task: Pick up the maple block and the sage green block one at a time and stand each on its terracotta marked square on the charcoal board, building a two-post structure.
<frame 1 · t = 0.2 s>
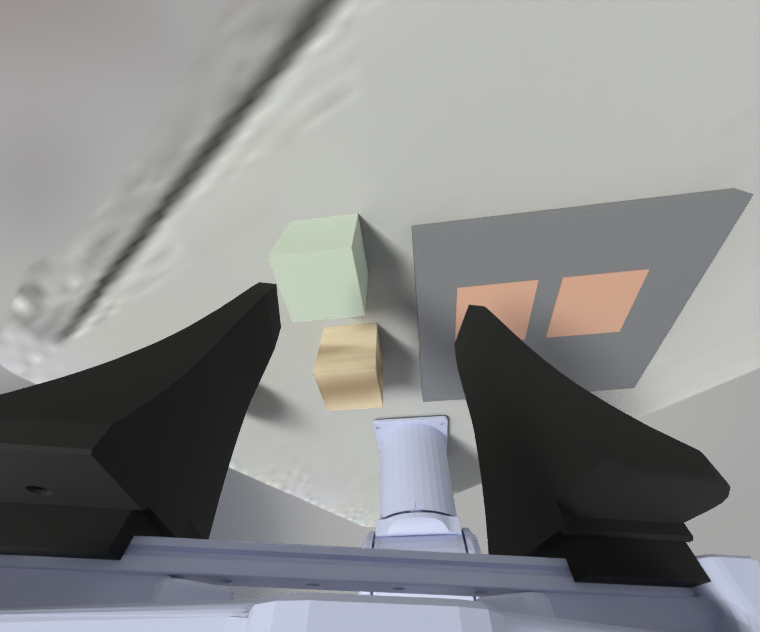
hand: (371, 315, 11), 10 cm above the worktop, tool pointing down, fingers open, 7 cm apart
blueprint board: (538, 315, 24), on the worktop
maple block: (355, 344, 26), on the worktop
sage block: (331, 248, 20), on the worktop
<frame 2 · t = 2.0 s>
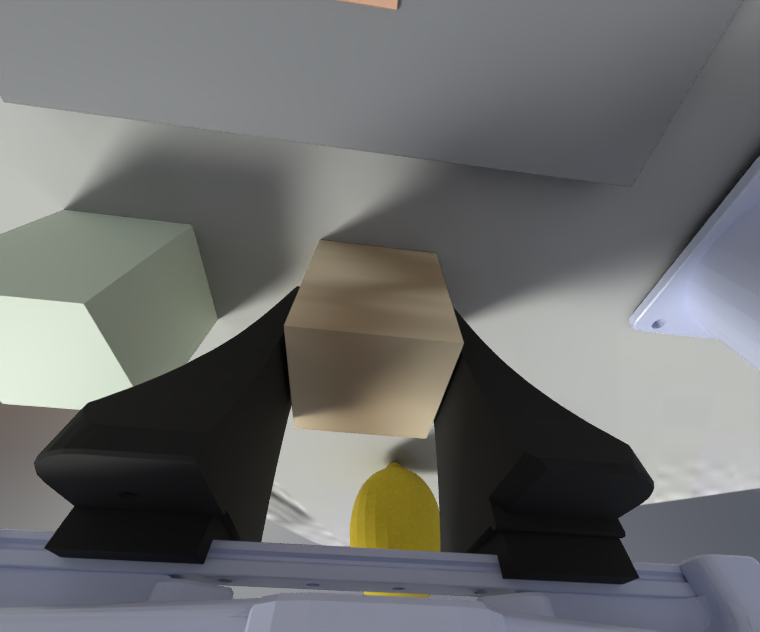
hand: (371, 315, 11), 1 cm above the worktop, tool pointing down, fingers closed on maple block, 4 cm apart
maple block: (372, 295, 13), on the worktop, touching gripper
lemon: (394, 460, 21), on the worktop
sage block: (151, 270, 12), on the worktop
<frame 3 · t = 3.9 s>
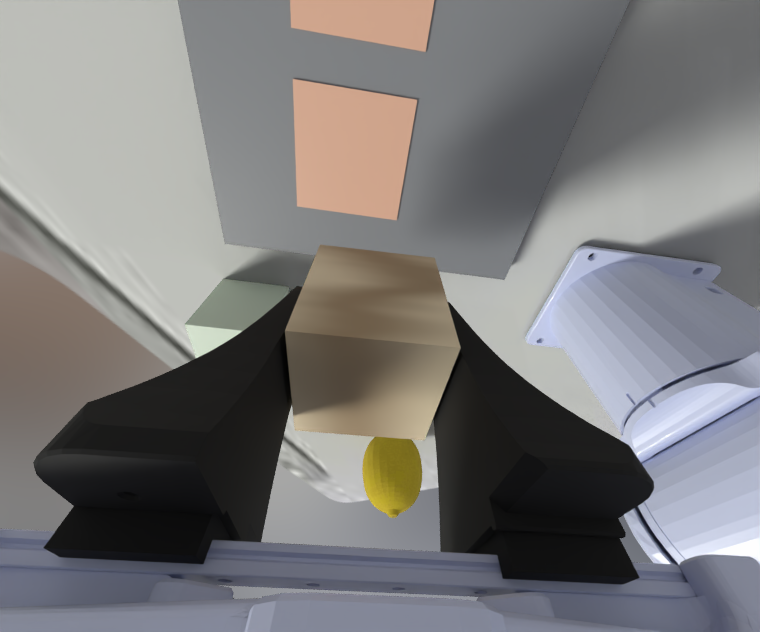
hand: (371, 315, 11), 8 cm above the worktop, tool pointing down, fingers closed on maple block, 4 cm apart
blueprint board: (394, 58, 13), on the worktop
maple block: (372, 298, 13), point 7 cm above the worktop, touching gripper
lemon: (391, 427, 31), on the worktop
sage block: (259, 307, 22), on the worktop
when the fingers open (4 cm above the worktop, at t = 5.8 s): maple block drops 2 cm, resting on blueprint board.
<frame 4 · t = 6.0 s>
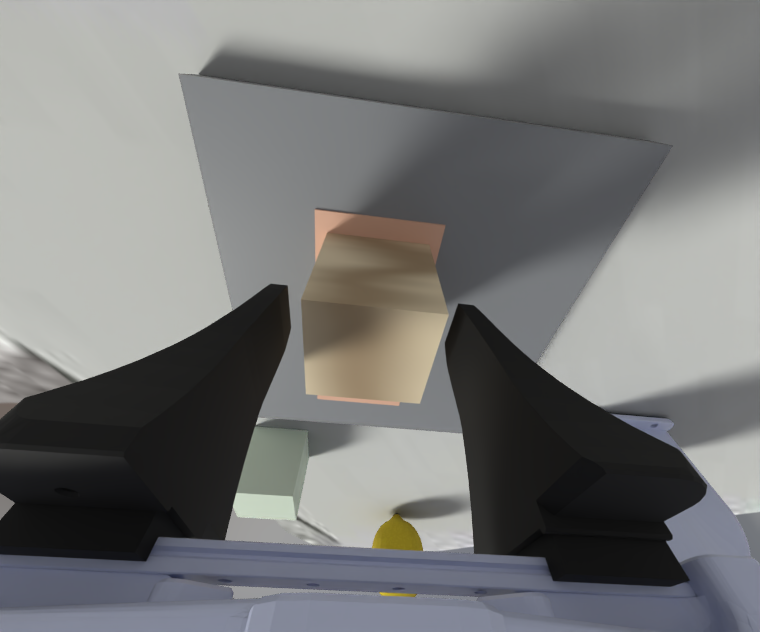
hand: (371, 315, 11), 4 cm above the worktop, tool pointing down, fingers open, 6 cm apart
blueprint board: (395, 312, 17), on the worktop
maple block: (373, 282, 14), point 1 cm above the worktop, touching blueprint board
lemon: (396, 512, 35), on the worktop
sage block: (282, 442, 26), on the worktop
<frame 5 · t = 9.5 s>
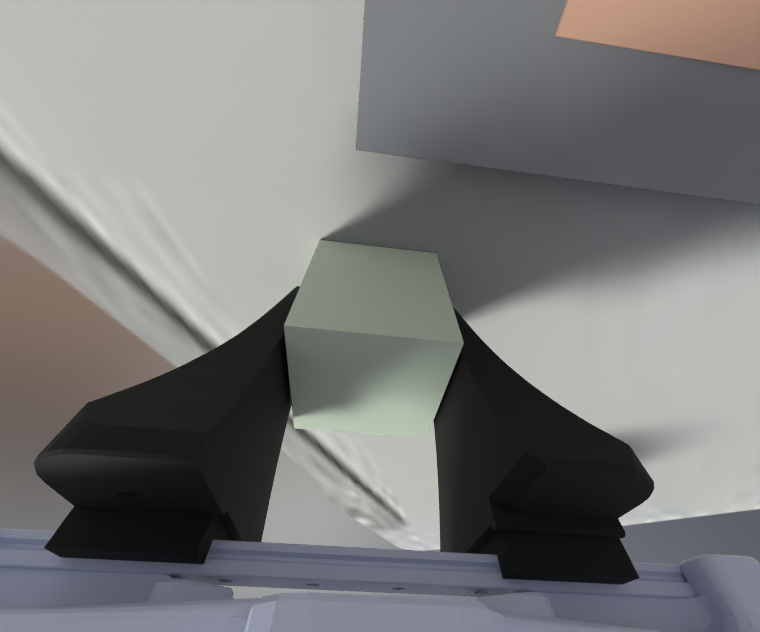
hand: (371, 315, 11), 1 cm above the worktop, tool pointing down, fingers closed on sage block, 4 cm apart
sage block: (372, 295, 13), on the worktop, touching gripper
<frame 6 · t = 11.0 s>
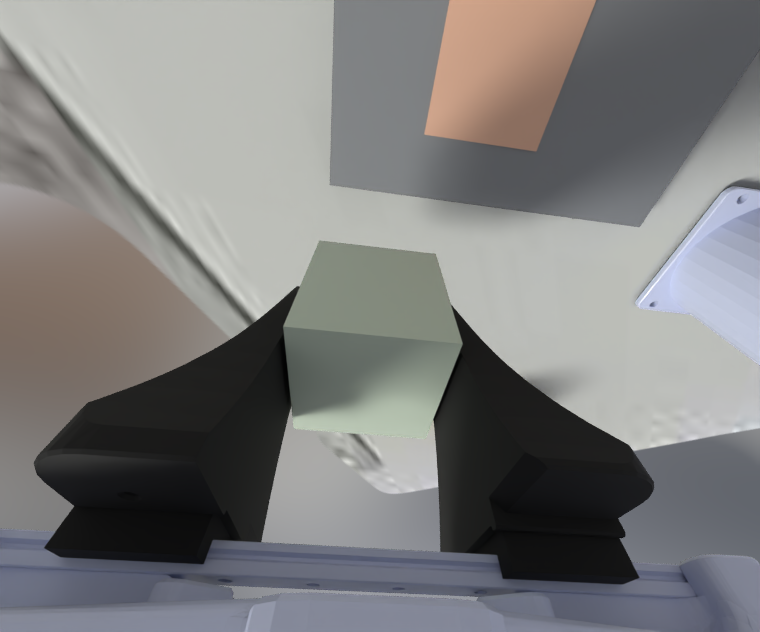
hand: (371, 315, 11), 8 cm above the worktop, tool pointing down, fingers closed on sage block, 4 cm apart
sage block: (372, 295, 13), point 7 cm above the worktop, touching gripper
when the fingers open (4 cm above the worktop, at t = 12.7 s): sage block drops 2 cm, resting on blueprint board.
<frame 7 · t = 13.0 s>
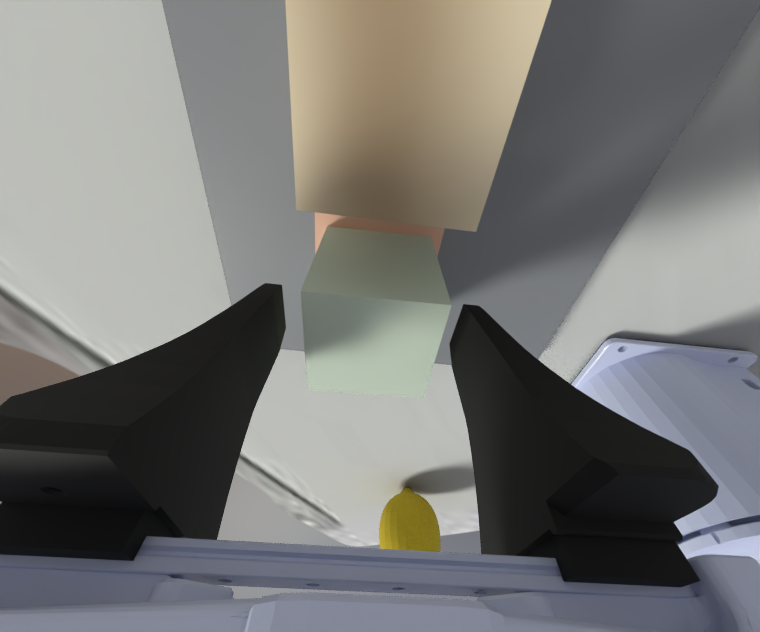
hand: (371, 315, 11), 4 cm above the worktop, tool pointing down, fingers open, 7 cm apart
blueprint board: (420, 180, 13), on the worktop
maple block: (395, 101, 10), point 1 cm above the worktop, touching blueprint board
lemon: (406, 485, 31), on the worktop
sage block: (374, 276, 14), point 1 cm above the worktop, touching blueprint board
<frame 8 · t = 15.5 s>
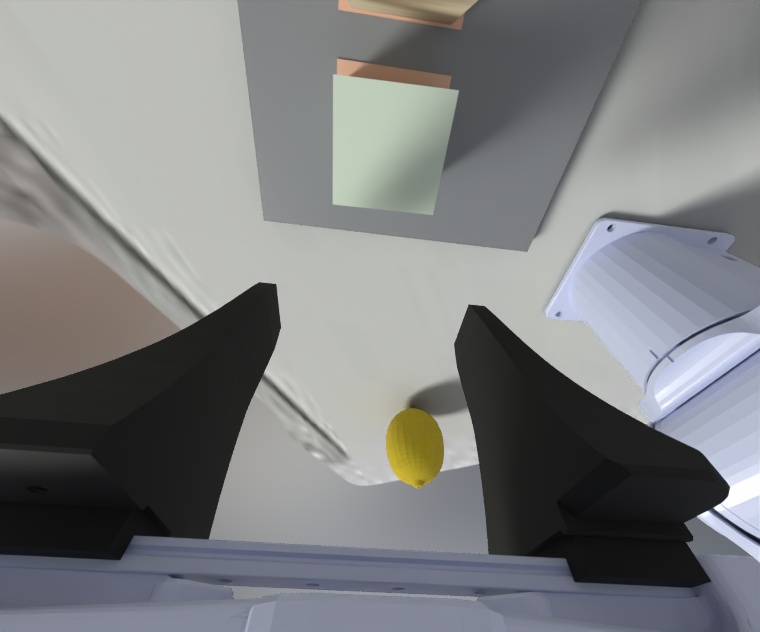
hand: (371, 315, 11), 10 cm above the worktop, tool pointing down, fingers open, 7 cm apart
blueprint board: (429, 38, 14), on the worktop
lemon: (411, 406, 32), on the worktop
sage block: (388, 136, 16), point 1 cm above the worktop, touching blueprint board
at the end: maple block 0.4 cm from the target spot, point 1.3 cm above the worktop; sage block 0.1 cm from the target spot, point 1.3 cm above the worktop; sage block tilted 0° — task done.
